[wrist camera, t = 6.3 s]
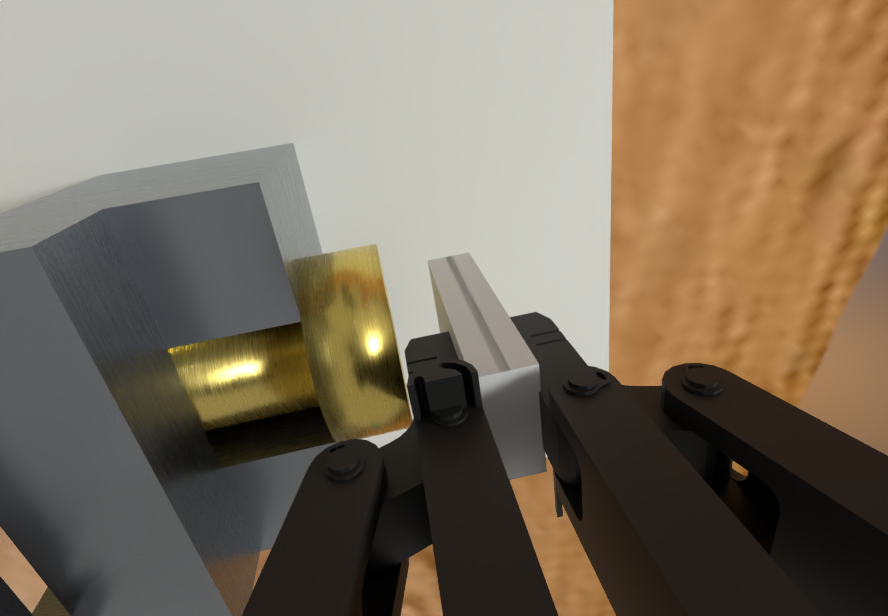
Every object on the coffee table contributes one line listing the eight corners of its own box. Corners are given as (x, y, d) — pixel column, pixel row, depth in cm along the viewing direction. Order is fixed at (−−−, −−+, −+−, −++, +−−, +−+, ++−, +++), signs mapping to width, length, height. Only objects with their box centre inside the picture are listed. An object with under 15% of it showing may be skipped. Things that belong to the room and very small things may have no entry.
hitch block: (293, 142, 16) (214, 232, 7) (359, 392, 20) (368, 656, 11) (66, 180, 15) (-378, 339, 6) (186, 430, 20) (40, 745, 10)
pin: (372, 222, 15) (383, 285, 10) (402, 363, 17) (421, 468, 13) (-86, 306, 14) (-308, 423, 9) (12, 447, 16) (-126, 598, 11)
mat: (-324, -13, 12) (-355, -17, 12) (605, -126, 15) (615, -133, 14) (81, 559, 22) (74, 571, 22) (601, 434, 24) (607, 442, 24)
